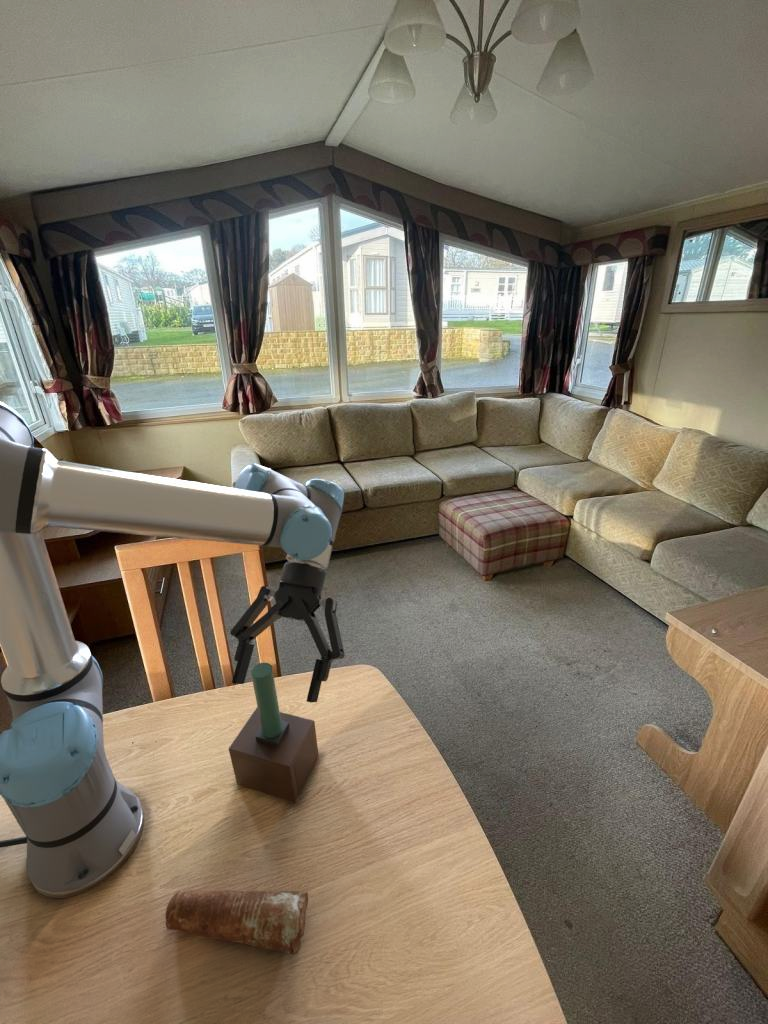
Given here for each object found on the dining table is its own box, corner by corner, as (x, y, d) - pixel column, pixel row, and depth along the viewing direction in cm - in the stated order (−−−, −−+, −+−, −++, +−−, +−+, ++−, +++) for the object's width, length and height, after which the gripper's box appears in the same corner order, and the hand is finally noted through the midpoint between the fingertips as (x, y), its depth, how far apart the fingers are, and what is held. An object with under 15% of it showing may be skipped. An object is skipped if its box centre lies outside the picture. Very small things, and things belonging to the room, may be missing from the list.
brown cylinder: (302, 965, 60) (297, 942, 57) (160, 939, 63) (150, 916, 60) (316, 906, 65) (312, 883, 63) (185, 884, 68) (177, 861, 66)
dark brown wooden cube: (237, 785, 81) (228, 748, 78) (264, 740, 89) (257, 705, 85) (295, 803, 78) (289, 766, 74) (318, 756, 86) (314, 720, 82)
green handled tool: (256, 740, 79) (243, 676, 73) (268, 721, 82) (257, 658, 76) (277, 746, 78) (266, 682, 71) (289, 727, 81) (279, 663, 75)
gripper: (233, 550, 85) (195, 675, 79) (367, 571, 78) (336, 711, 71) (254, 561, 92) (221, 676, 86) (378, 581, 84) (352, 709, 78)
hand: (273, 692), depth 78 cm, fingers open, 13 cm apart
